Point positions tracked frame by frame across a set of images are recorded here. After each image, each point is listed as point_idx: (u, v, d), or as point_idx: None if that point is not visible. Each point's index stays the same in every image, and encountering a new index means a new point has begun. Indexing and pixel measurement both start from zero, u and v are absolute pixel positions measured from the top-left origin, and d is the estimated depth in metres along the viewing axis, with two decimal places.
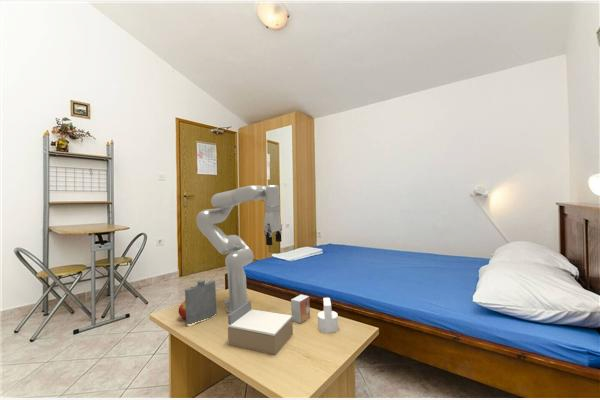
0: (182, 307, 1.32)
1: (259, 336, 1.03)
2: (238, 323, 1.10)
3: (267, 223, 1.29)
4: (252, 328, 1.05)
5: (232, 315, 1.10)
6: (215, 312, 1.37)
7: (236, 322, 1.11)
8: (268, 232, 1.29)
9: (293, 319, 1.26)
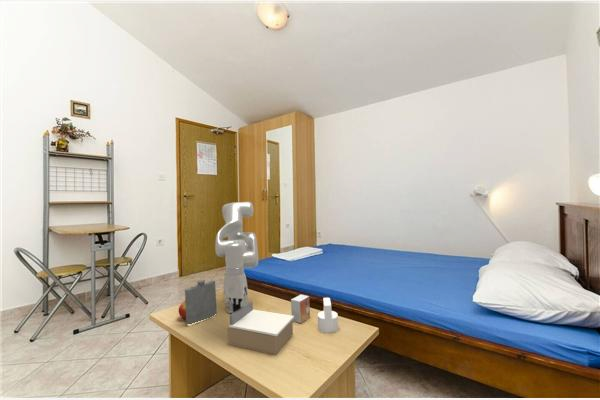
0: (182, 307, 1.32)
1: (259, 336, 1.03)
2: (240, 323, 1.09)
3: (244, 289, 1.14)
4: (254, 328, 1.05)
5: (234, 315, 1.10)
6: (215, 312, 1.37)
7: (238, 322, 1.10)
8: None
9: (293, 319, 1.26)
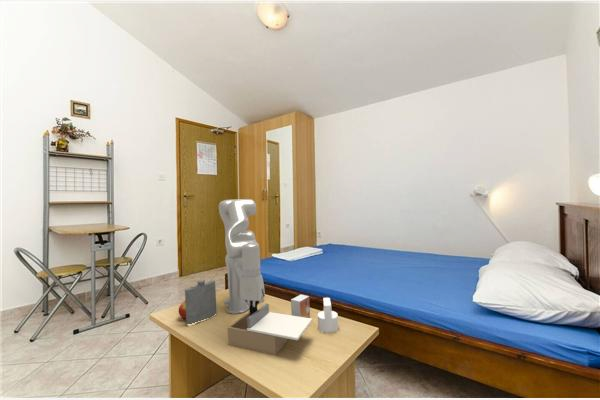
0: (182, 307, 1.32)
1: (259, 336, 1.03)
2: (258, 327, 1.06)
3: (261, 291, 1.11)
4: (273, 332, 1.01)
5: (251, 318, 1.06)
6: (215, 312, 1.37)
7: (255, 326, 1.07)
8: None
9: None
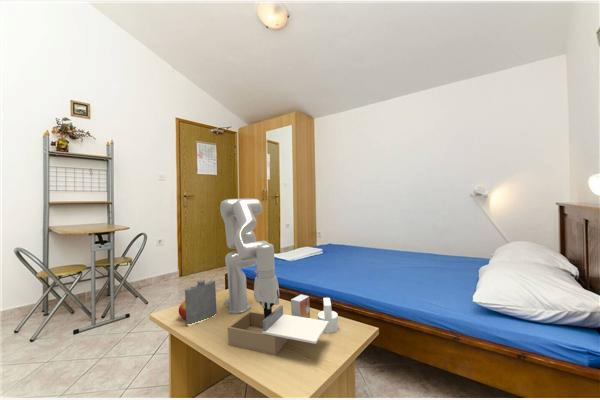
0: (182, 307, 1.32)
1: (259, 336, 1.03)
2: (273, 329, 1.03)
3: (276, 293, 1.08)
4: (290, 335, 0.98)
5: (267, 321, 1.03)
6: (215, 312, 1.37)
7: (271, 328, 1.04)
8: None
9: None
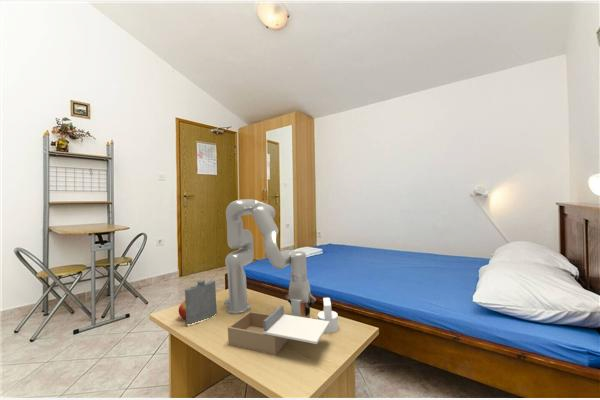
0: (182, 307, 1.32)
1: (259, 336, 1.03)
2: (274, 330, 1.03)
3: (309, 292, 1.26)
4: (291, 335, 0.98)
5: (267, 321, 1.03)
6: (215, 312, 1.37)
7: (271, 328, 1.04)
8: None
9: None
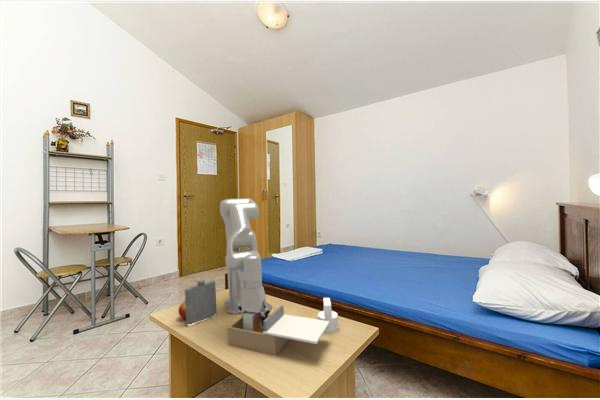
0: (182, 307, 1.32)
1: (259, 336, 1.03)
2: (274, 330, 1.03)
3: (263, 300, 1.10)
4: (291, 335, 0.98)
5: (267, 321, 1.03)
6: (215, 312, 1.37)
7: (271, 328, 1.04)
8: None
9: None
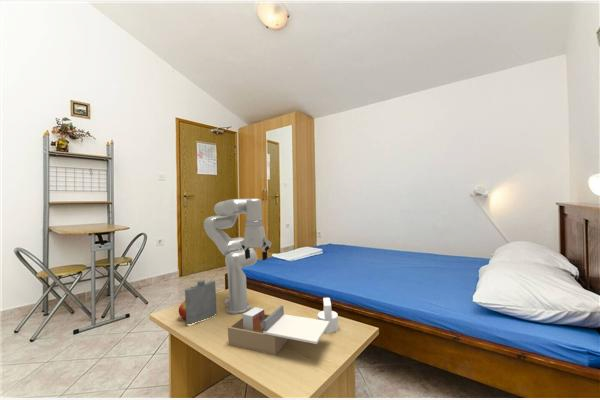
0: (182, 307, 1.32)
1: (259, 336, 1.03)
2: (274, 330, 1.03)
3: (263, 237, 1.26)
4: (291, 335, 0.98)
5: (267, 321, 1.03)
6: (215, 312, 1.37)
7: (271, 328, 1.04)
8: None
9: None
